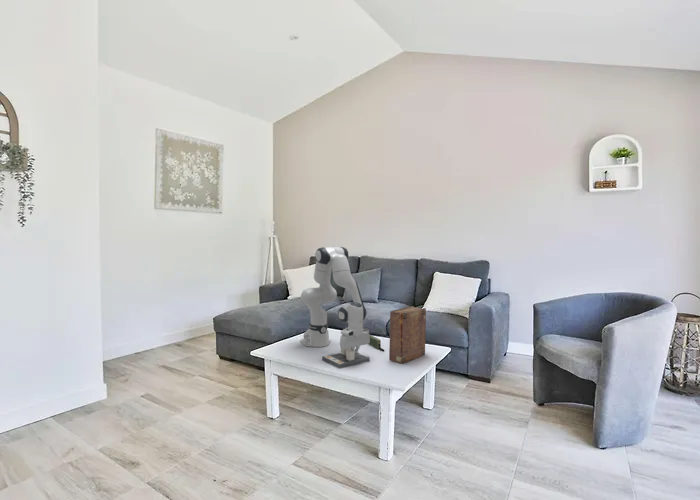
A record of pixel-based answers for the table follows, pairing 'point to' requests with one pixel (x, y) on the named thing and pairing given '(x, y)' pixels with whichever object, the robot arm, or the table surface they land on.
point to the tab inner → (343, 351)
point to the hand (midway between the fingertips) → (355, 353)
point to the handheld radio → (375, 343)
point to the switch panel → (344, 360)
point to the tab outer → (350, 355)
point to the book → (407, 334)
